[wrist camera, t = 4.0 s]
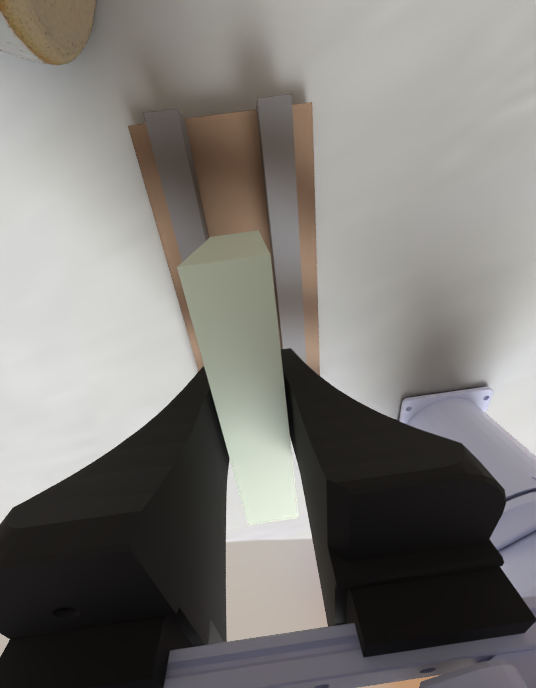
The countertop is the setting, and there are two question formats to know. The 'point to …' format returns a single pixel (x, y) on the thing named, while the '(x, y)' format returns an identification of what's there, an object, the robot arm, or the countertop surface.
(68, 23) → the grey cylinder
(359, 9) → the countertop surface
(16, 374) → the countertop surface
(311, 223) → the track board
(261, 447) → the door panel
